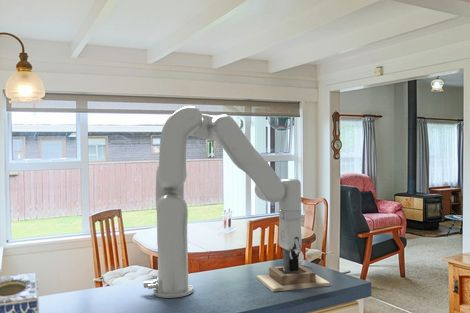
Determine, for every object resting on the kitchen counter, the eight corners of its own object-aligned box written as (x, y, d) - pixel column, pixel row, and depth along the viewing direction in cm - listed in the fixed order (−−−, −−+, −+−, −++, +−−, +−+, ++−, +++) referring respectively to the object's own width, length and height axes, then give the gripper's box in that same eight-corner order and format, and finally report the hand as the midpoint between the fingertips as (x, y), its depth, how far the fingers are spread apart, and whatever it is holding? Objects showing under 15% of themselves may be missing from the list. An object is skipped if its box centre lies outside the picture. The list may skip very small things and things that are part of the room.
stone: (299, 276, 144) (299, 247, 144) (282, 275, 145) (282, 246, 145) (299, 273, 148) (299, 244, 147) (282, 273, 148) (282, 244, 148)
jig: (272, 291, 136) (272, 279, 136) (256, 278, 151) (256, 267, 151) (329, 285, 141) (329, 273, 141) (308, 273, 156) (308, 262, 156)
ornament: (301, 268, 163) (288, 253, 163) (291, 271, 169) (279, 256, 169) (310, 257, 167) (298, 242, 167) (300, 260, 173) (288, 246, 173)
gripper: (271, 212, 153) (272, 264, 153) (289, 218, 137) (290, 276, 137) (290, 211, 155) (291, 262, 155) (311, 217, 139) (311, 274, 139)
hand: (291, 268), depth 146 cm, fingers closed on stone, 4 cm apart
